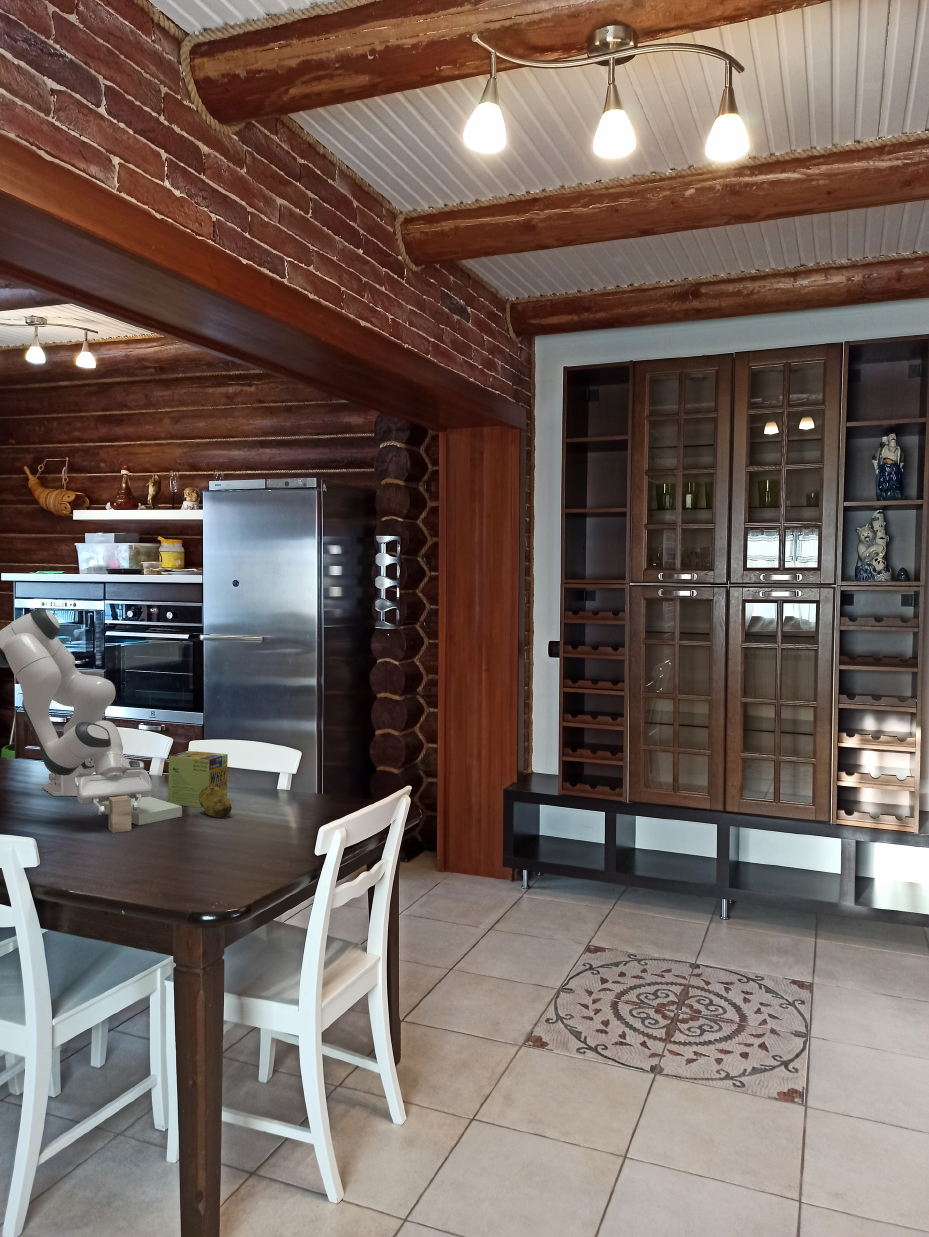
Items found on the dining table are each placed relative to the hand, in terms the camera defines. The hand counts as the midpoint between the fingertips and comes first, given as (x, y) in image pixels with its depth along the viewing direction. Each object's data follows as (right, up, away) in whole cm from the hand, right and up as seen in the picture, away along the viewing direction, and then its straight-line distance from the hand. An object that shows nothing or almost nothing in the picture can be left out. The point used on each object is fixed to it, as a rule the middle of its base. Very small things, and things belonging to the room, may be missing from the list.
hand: (119, 811), depth 257 cm
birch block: (0, -5, +1) cm, 5 cm away
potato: (+22, -5, +19) cm, 29 cm away
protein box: (+13, -4, +33) cm, 36 cm away
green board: (0, -5, +18) cm, 18 cm away
